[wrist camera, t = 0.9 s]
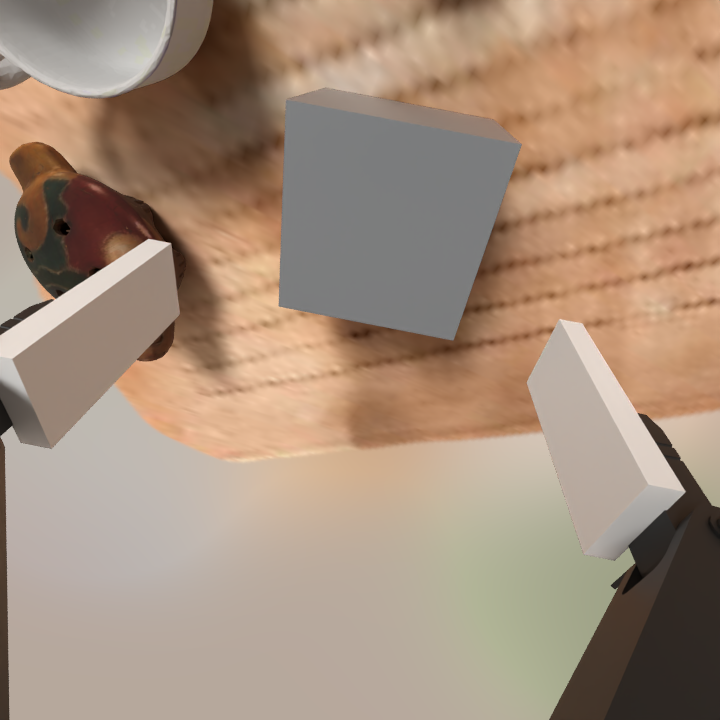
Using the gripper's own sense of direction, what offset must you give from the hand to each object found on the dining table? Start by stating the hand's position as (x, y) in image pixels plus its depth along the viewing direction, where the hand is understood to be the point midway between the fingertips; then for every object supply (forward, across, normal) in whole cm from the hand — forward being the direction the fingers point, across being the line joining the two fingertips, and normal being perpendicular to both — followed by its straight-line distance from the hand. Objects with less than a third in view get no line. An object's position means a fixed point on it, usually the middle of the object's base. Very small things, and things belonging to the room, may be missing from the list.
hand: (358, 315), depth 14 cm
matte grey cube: (+17, 0, 0) cm, 17 cm away
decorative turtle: (+17, -19, -7) cm, 26 cm away
